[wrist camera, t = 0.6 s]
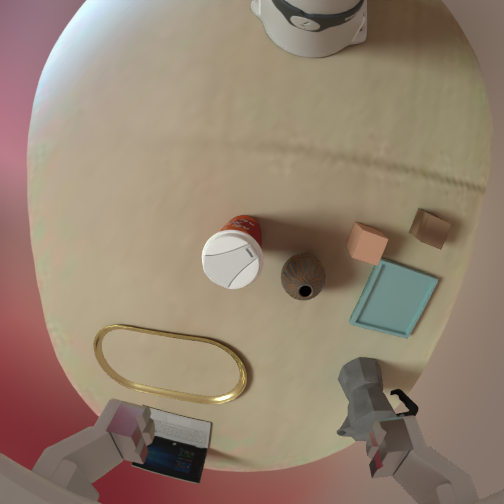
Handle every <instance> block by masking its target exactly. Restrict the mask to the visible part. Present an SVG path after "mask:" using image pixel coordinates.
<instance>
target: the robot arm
mask: <svg viewBox="0 0 504 504" xmlns="http://www.w3.org/2000/svg"><path fill="white" fill-rule="evenodd" d="M251 10H252V11H253V13H254V14H255V15H257V16H258V17H259V18H260V19H261V20H262V22H263V24H264V27H265V30H266V32H267V33H268V35H269V36H270V38H271V39H272V40H273V41H274V42H275V43H276V44H277V45H278V46H280V47H281V48H283V49H284V50H286V51H288V52H290V53H292V54H295V55H298V56H303V57H310V58H318V57H325V56H329V55H332V54H334V53H336V52H338V51H340V50H341V49H343V48H344V47H346V46H348V45H354V44H360V43H363V42H364V41H365V40H366V37H367V0H253V1H252V3H251ZM360 29H361V31H360ZM150 416H151V410H150V408H149V407H145V406H141V405H137V404H133V403H129V402H125V401H121V400H117V399H113V398H112V399H111V400H109V402H108V403H107V405H106V407H105V408H104V410H103V412H102V413H101V415H100V417H99V419H98V420H97V422H96V424H95V425H94V427H91V426H90V427H88V428H86V429H84V430H82V431H80V432H78V433H77V434H74V435H72V436H70V437H68V438H66V439H65V440H62V441H60V442H58V443H56V444H54V445H52V446H50V447H48V448H46V449H45V450H44V452H43V453H42V455H41V457H40V458H39V460H38V461H37V463H36V464H35V466H34V468H33V469H32V471H30V470H28V469H26V468H24V467H23V466H21V465H19V464H18V463H16V462H14V461H13V460H11V459H9V458H8V457H6V456H5V455H3V454H2V453H0V504H101V503H99V502H97V500H98V498H99V493H98V492H97V491H96V489H95V488H94V487H93V486H92V483H93V482H94V481H96V480H97V479H99V478H100V477H101V476H103V475H104V474H106V473H107V472H108V471H110V470H111V469H112V468H114V467H115V466H117V465H118V464H119V463H120V462H122V461H123V459H124V460H128V461H132V462H136V463H140V464H144V462H145V459H146V457H147V454H148V452H149V451H148V448H147V446H148V445H149V444H151V443H152V442H153V439H154V435H155V423H154V420H152V419H151V418H150ZM366 451H367V456H369V457H370V458H371V459H372V461H371V462H370V464H369V466H370V471H371V476H372V478H379V477H388V476H393V478H394V479H395V480H396V481H397V482H398V483H399V484H400V485H401V486H402V487H403V488H404V489H405V490H406V491H407V492H408V493H409V495H411V496H412V498H413V499H414V500H415V501H416V502H417V503H418V504H504V489H503V490H501V491H498V492H496V493H494V494H492V495H490V496H487V497H485V498H483V499H480V500H479V498H478V495H477V492H476V489H475V487H474V484H473V482H472V479H471V476H470V475H469V474H468V473H466V472H465V471H464V470H462V469H461V468H459V467H458V466H456V465H455V464H453V463H452V462H451V461H449V460H448V459H447V458H445V457H444V456H443V455H441V454H440V453H439V452H437V451H436V450H434V449H433V448H432V447H427V446H426V443H425V440H424V438H423V435H422V433H421V430H420V427H419V425H418V422H417V420H416V418H415V416H414V415H413V416H405V417H395V418H387V419H378V420H376V421H375V422H374V424H373V431H371V432H370V433H369V435H368V437H367V442H366Z"/></svg>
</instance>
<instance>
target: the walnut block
mask: <svg viewBox="0 0 504 504" xmlns="http://www.w3.org/2000/svg"><path fill="white" fill-rule="evenodd" d="M451 225H452V224H450V223H448V222H446V221H444V220H443V219H441V218H439V217H437V216H435V215H432V214H430V213H428V212H426V211H424V210H421V209H419V208H418V211H417V213H416V216H415V219H414V221H413V224H412V226H411V229H410V231H409V233H410V234H412V235H413V236H414V237H415V238H417V239H418V240H419V241H421V242H423V243H426V244H428V245H431V246H433V247H436V248H438V249H440V250H441V249H442V247H443V244H444V242H445V240H446V237H447V235H448V232H449V230H450V227H451Z"/></svg>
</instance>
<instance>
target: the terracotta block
mask: <svg viewBox="0 0 504 504" xmlns="http://www.w3.org/2000/svg"><path fill="white" fill-rule="evenodd" d="M387 242H388V238H387V237H386V236H384V235H383V234H382V233H381V232H380V231H379V230H376V229H374V228H371V227H368V226H365V225H363V224H360V223H357V222H355V224H354V226H353V229H352V232H351V234H350V237H349V239H348V242H347V245H346V249H347V250H348V252H349V254H350V255H351V257H352V258H355V259H358V260H361V261H364V262H367V263H370V264H373V265H376V266H378V263H379V261H380V259H381V256H382V254H383V252H384V249H385V247H386V244H387Z"/></svg>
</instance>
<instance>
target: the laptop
mask: <svg viewBox="0 0 504 504" xmlns="http://www.w3.org/2000/svg"><path fill="white" fill-rule="evenodd" d="M141 406H143V405H141ZM145 407H146V406H145ZM149 408H150V407H149ZM150 410H151V416H150V418H151V419H152V420H154V423H155V435H154V439H153V442H152V443H151V444H149V445H148V446H147V448H148V451H149V452H148V454H147V457H146V459H145V462H144V464H140V463H136V462H132V464H131V465H132V466H134V467H138V468H140V469H144V470H147V471H150V472H153V473H157V474H160V475H164V476H168V477H171V478H175V479H179V480H184V481H188V482H192V483H197V484H199V483H200V480H201V476H202V471H203V467H204V463H205V459H206V455H207V450H208V449H207V448H208V446H209V437H210V429H211V423H210V422H206V421H201V420H197V419H192V418H188V417H184V416H180V415H176V414H172V413H168V412H164V411H160V410H157V409H153V408H150ZM159 436H160V437H159ZM162 437H163V438H162ZM166 438H167V439H166ZM170 439H171V440H170ZM174 440H175V441H174ZM178 441H179V442H178ZM182 442H183V443H182ZM186 443H187V444H186ZM190 444H191V445H190ZM204 447H205V448H204Z"/></svg>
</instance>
